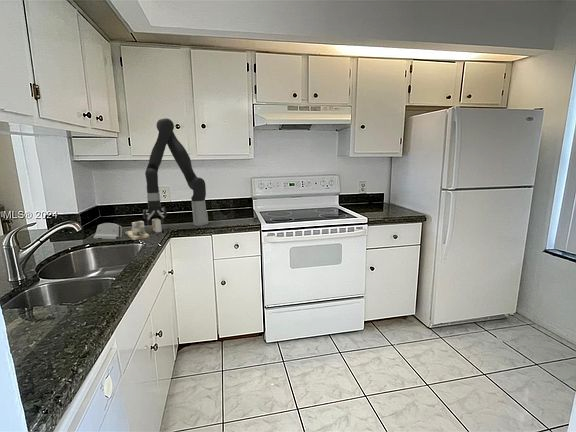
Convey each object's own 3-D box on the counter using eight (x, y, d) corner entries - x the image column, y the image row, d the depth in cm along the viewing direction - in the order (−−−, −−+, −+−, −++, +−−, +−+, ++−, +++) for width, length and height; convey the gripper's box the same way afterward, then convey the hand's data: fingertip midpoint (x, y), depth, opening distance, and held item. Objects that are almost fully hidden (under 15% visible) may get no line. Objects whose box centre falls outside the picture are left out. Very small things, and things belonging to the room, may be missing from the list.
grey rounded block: (92, 238, 194) (95, 222, 196) (99, 238, 199) (101, 223, 200) (115, 239, 190) (117, 222, 192) (121, 239, 195) (123, 223, 196)
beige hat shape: (140, 231, 208) (138, 217, 206) (149, 237, 193) (147, 221, 191) (125, 234, 203) (123, 219, 201) (133, 239, 187) (131, 224, 186)
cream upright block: (161, 231, 206) (160, 219, 205) (155, 232, 204) (154, 220, 202) (158, 230, 211) (157, 218, 209) (152, 231, 208) (151, 219, 207)
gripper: (163, 198, 210) (165, 222, 213) (140, 200, 201) (142, 225, 204) (167, 199, 205) (169, 223, 208) (143, 201, 196) (146, 226, 199)
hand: (156, 224), depth 206 cm, fingers open, 8 cm apart
